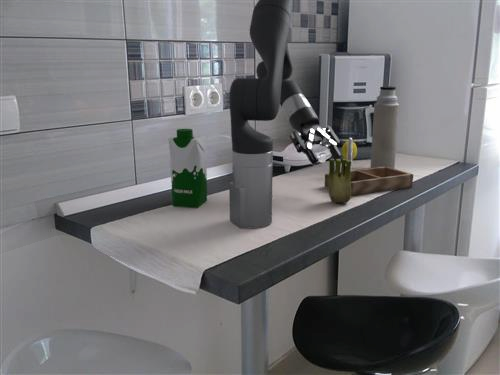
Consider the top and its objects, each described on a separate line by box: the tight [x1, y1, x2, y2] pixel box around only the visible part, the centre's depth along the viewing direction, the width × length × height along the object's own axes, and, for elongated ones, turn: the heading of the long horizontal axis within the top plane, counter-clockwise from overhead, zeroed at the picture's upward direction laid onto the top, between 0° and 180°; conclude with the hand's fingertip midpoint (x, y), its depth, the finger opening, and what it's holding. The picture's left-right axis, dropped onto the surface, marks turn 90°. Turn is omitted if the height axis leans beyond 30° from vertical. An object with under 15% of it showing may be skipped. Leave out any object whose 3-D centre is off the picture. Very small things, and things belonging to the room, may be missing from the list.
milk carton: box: [167, 128, 208, 209], centre depth 130 cm, size 9×9×20 cm
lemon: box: [341, 140, 358, 161], centre depth 182 cm, size 6×6×8 cm
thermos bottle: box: [369, 85, 400, 169], centre depth 166 cm, size 8×8×28 cm
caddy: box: [324, 166, 414, 198], centre depth 147 cm, size 23×12×4 cm, turn 116°
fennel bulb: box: [327, 158, 352, 205], centre depth 131 cm, size 6×5×12 cm
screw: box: [346, 137, 354, 171], centre depth 158 cm, size 13×5×5 cm
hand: (327, 160), depth 134 cm, fingers open, 8 cm apart
